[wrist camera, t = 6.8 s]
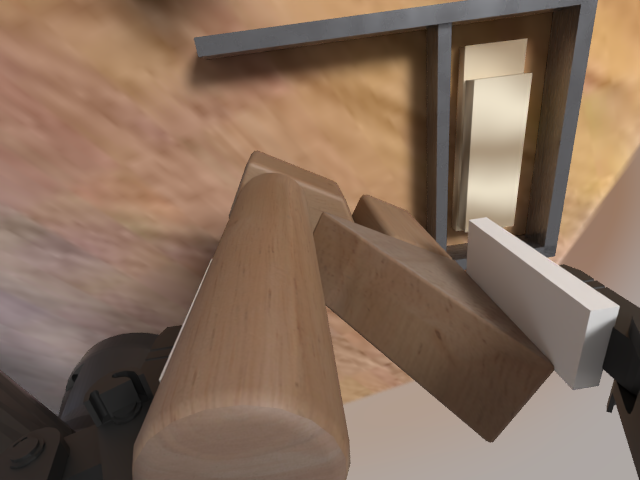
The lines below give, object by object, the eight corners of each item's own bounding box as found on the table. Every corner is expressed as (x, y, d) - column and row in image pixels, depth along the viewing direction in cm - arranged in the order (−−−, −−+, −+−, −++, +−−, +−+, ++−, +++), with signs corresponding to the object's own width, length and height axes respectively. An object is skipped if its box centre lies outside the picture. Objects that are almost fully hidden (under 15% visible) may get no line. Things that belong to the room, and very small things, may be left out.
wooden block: (385, 256, 25) (580, 599, 8) (235, 202, 22) (90, 539, 6) (410, 209, 23) (699, 505, 7) (254, 146, 21) (137, 376, 5)
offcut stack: (498, 219, 36) (515, 230, 33) (449, 225, 36) (462, 237, 33) (516, 40, 29) (539, 36, 27) (457, 47, 29) (474, 44, 27)
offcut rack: (535, 243, 37) (554, 256, 34) (259, 284, 36) (256, 300, 34) (570, -8, 28) (600, -18, 25) (203, 42, 27) (193, 37, 25)
